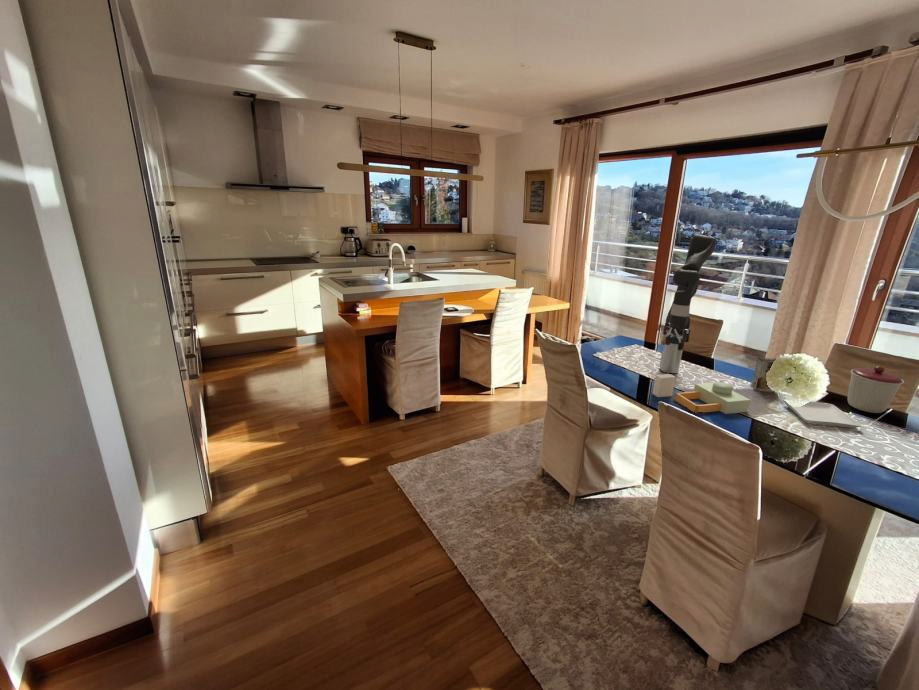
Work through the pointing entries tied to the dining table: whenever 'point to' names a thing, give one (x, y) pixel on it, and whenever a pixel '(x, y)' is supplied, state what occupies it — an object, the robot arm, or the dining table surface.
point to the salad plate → (823, 415)
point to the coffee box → (762, 374)
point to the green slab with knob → (714, 398)
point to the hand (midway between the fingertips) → (673, 347)
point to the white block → (663, 385)
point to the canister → (872, 389)
